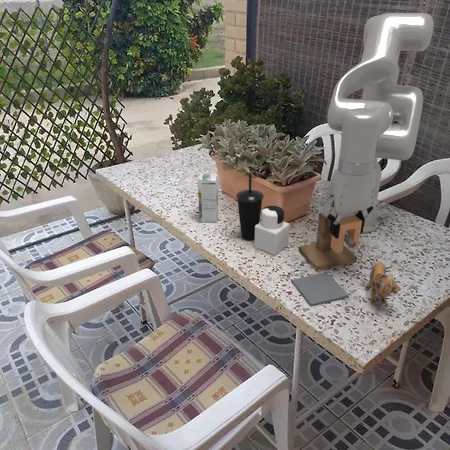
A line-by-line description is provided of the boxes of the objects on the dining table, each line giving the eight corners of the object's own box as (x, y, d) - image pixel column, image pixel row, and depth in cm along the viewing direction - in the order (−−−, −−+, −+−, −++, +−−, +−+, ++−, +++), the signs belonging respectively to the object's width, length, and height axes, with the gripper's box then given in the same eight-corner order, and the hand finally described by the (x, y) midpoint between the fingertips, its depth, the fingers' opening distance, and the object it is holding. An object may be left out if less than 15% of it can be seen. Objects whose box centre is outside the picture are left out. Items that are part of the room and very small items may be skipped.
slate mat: (326, 273, 108) (327, 271, 108) (348, 297, 100) (348, 295, 99) (291, 281, 105) (291, 279, 105) (310, 306, 97) (311, 304, 97)
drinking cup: (247, 246, 120) (248, 182, 110) (231, 235, 125) (230, 173, 116) (267, 237, 124) (270, 174, 114) (251, 227, 129) (252, 166, 119)
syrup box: (200, 214, 138) (198, 173, 131) (218, 214, 137) (217, 173, 130) (199, 222, 133) (196, 180, 126) (218, 222, 132) (216, 180, 125)
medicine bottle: (268, 237, 124) (269, 200, 118) (288, 245, 120) (291, 207, 114) (253, 247, 120) (254, 210, 114) (274, 256, 116) (276, 217, 110)
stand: (336, 243, 121) (341, 205, 115) (368, 273, 108) (375, 233, 102) (298, 251, 117) (301, 213, 111) (327, 283, 105) (332, 242, 99)
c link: (351, 242, 108) (355, 215, 104) (357, 248, 106) (362, 220, 102) (330, 246, 107) (333, 219, 103) (336, 253, 104) (340, 225, 100)
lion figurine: (397, 315, 94) (404, 282, 90) (372, 314, 94) (379, 282, 90) (380, 275, 107) (386, 245, 102) (358, 275, 107) (363, 245, 103)
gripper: (378, 154, 100) (367, 219, 109) (313, 164, 96) (307, 232, 105) (398, 165, 94) (385, 233, 103) (330, 177, 90) (322, 247, 99)
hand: (346, 232), depth 104 cm, fingers closed on c link, 6 cm apart
